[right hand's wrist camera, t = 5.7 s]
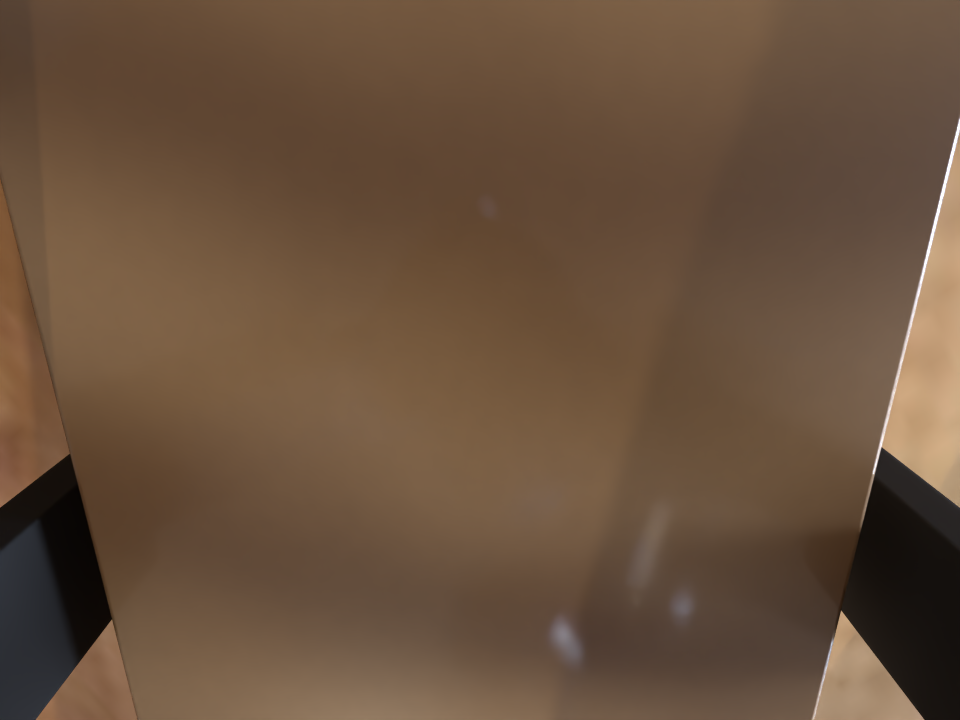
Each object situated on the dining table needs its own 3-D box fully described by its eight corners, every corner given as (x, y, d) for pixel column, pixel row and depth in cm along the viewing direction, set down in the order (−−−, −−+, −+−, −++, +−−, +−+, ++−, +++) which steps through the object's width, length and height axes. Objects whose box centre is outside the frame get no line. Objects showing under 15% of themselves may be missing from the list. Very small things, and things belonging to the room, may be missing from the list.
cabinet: (227, -349, 14) (-496, -1745, 4) (727, -350, 14) (1432, -1749, 4) (310, 451, 20) (144, 756, 10) (645, 451, 20) (807, 757, 10)
